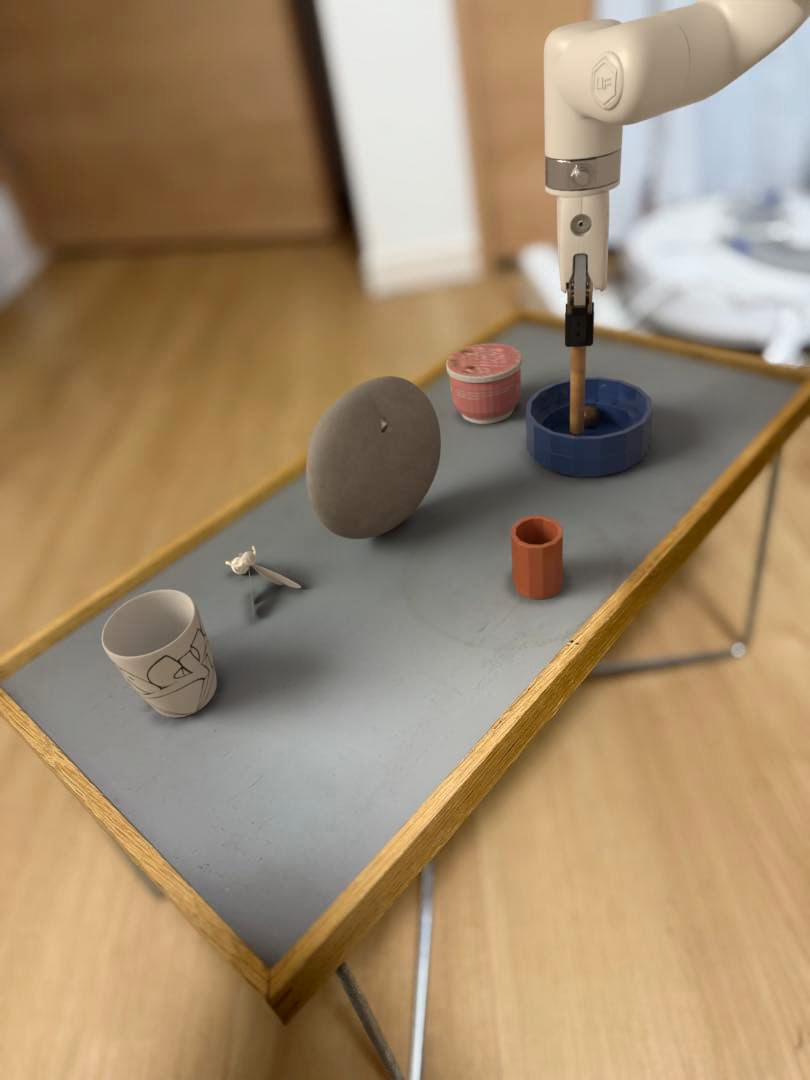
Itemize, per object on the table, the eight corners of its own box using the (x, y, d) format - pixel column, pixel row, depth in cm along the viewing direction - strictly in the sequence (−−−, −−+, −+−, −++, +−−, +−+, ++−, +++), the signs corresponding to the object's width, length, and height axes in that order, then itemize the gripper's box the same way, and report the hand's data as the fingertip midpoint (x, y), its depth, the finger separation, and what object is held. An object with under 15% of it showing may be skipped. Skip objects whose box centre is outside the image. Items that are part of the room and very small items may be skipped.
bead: (599, 420, 91) (598, 432, 94) (601, 400, 92) (600, 413, 95) (575, 419, 92) (575, 431, 94) (577, 400, 93) (578, 413, 96)
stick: (584, 426, 92) (587, 290, 80) (583, 434, 90) (587, 296, 79) (569, 427, 92) (571, 291, 81) (569, 434, 91) (571, 297, 79)
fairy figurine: (254, 546, 83) (267, 533, 77) (285, 595, 83) (301, 587, 77) (209, 572, 80) (219, 561, 74) (242, 623, 81) (254, 617, 74)
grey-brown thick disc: (425, 480, 91) (405, 343, 79) (464, 500, 86) (450, 359, 74) (311, 553, 82) (269, 413, 71) (347, 579, 78) (310, 435, 66)
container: (477, 387, 108) (473, 338, 103) (537, 401, 102) (536, 349, 97) (437, 419, 102) (431, 368, 97) (498, 435, 96) (495, 383, 91)
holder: (562, 567, 75) (563, 515, 70) (561, 600, 71) (562, 548, 67) (515, 566, 76) (512, 515, 72) (512, 598, 72) (509, 547, 68)
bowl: (644, 415, 95) (647, 375, 92) (652, 480, 84) (656, 437, 80) (530, 417, 99) (529, 379, 95) (524, 480, 88) (522, 439, 84)
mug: (126, 668, 72) (85, 599, 66) (203, 629, 75) (170, 560, 69) (156, 744, 64) (112, 674, 58) (241, 698, 67) (208, 626, 61)
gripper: (623, 188, 65) (613, 370, 77) (618, 148, 77) (610, 312, 88) (541, 196, 67) (543, 373, 78) (548, 156, 78) (549, 315, 90)
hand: (579, 339), depth 83 cm, fingers closed on stick, 1 cm apart
